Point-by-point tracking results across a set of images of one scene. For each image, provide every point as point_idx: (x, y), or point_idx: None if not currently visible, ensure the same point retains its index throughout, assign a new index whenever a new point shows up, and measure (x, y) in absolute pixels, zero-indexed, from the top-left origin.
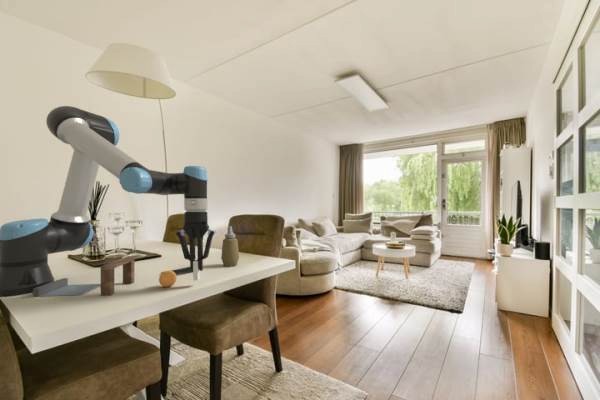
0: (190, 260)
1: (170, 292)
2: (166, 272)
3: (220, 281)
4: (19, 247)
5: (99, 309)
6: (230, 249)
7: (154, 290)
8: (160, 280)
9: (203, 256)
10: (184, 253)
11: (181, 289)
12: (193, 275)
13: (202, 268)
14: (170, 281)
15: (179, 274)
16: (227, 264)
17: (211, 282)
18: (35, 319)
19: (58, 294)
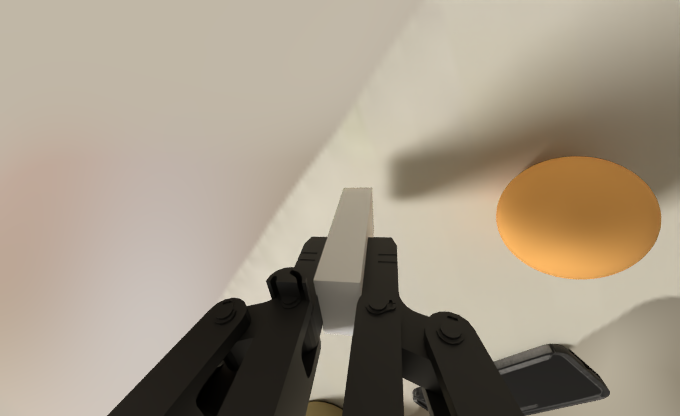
0: (390, 295)
1: (497, 61)
2: (616, 222)
3: (271, 245)
4: None
5: None
6: None
7: (630, 117)
8: (629, 170)
9: (233, 320)
10: (492, 400)
11: (433, 128)
12: (368, 204)
13: (415, 399)
14: (534, 171)
15: (505, 361)
16: (326, 410)
17: (307, 236)
18: None
19: None
